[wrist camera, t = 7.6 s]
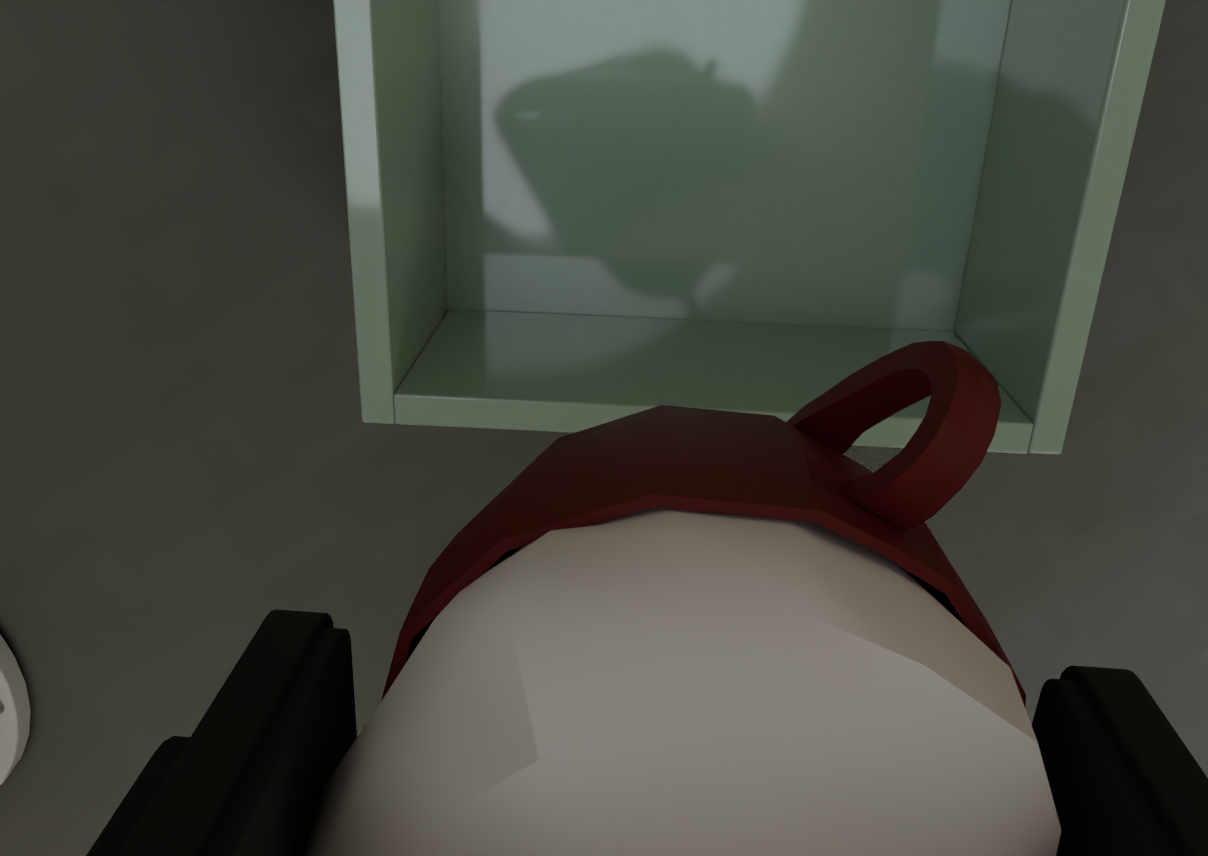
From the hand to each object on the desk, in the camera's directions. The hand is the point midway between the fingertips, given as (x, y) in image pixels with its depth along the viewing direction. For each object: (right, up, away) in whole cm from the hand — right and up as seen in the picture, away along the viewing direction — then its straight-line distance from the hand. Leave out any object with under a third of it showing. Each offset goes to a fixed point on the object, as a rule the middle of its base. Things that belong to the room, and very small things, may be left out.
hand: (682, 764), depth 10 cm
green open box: (+2, +15, +17) cm, 23 cm away
